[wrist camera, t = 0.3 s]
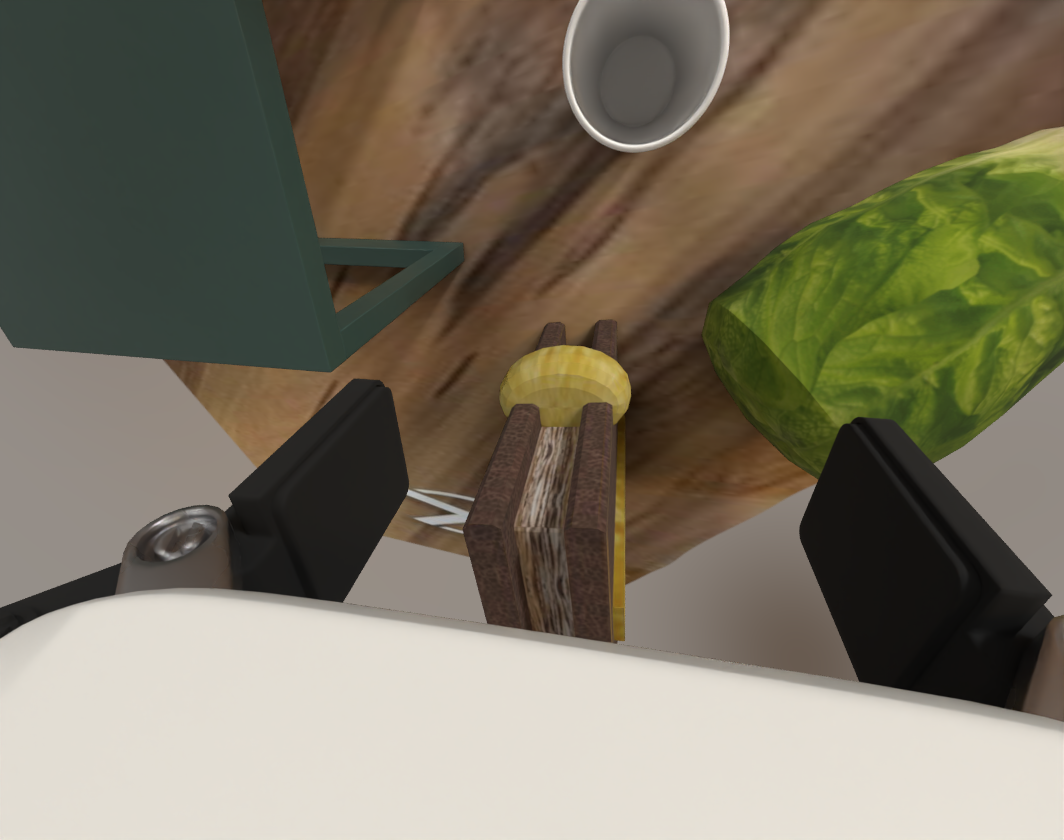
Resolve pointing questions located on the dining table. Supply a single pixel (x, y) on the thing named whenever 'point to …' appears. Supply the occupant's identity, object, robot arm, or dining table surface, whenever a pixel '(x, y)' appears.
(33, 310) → the bench
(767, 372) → the lettuce
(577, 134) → the dining table surface
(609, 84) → the white paper cup
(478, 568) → the book
